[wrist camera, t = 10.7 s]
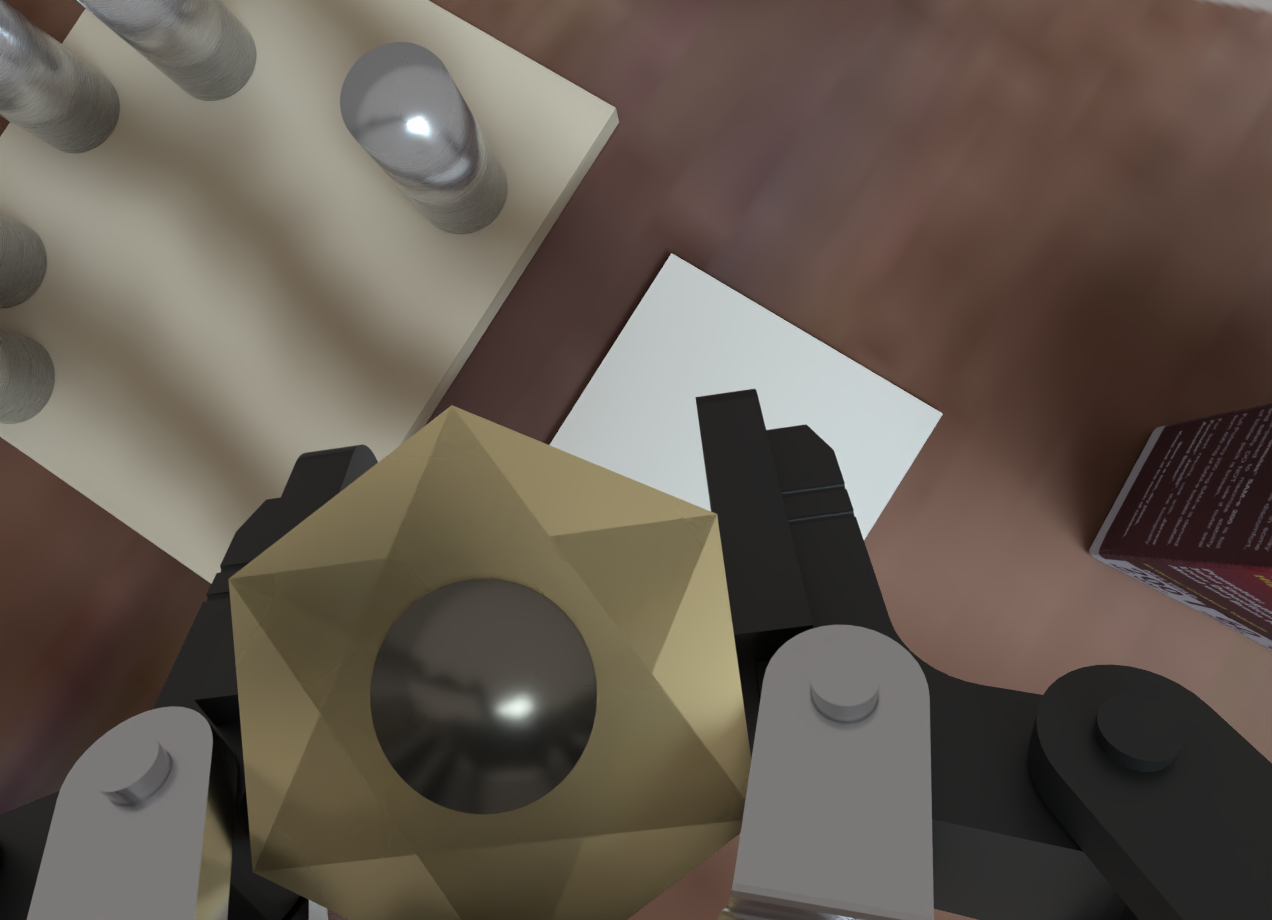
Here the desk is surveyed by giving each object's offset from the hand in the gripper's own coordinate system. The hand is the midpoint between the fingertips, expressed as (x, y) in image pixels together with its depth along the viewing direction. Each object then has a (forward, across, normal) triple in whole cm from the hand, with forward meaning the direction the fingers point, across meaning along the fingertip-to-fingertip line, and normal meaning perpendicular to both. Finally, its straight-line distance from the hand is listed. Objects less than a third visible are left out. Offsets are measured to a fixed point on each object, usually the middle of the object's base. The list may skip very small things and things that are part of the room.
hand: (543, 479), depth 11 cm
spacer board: (+20, +12, +4) cm, 24 cm away
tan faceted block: (+2, 0, +4) cm, 5 cm away
